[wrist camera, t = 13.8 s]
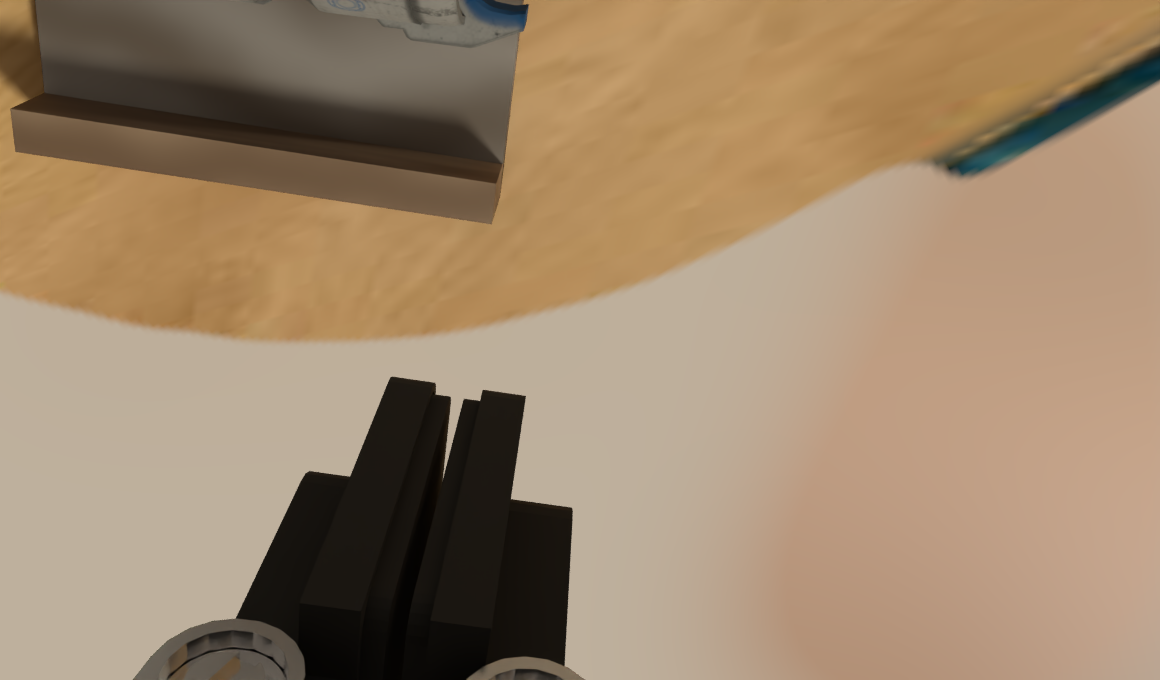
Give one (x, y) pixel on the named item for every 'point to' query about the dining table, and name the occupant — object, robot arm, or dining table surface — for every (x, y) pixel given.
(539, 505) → the robot arm
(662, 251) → the dining table surface
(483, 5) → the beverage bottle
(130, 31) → the u rest
